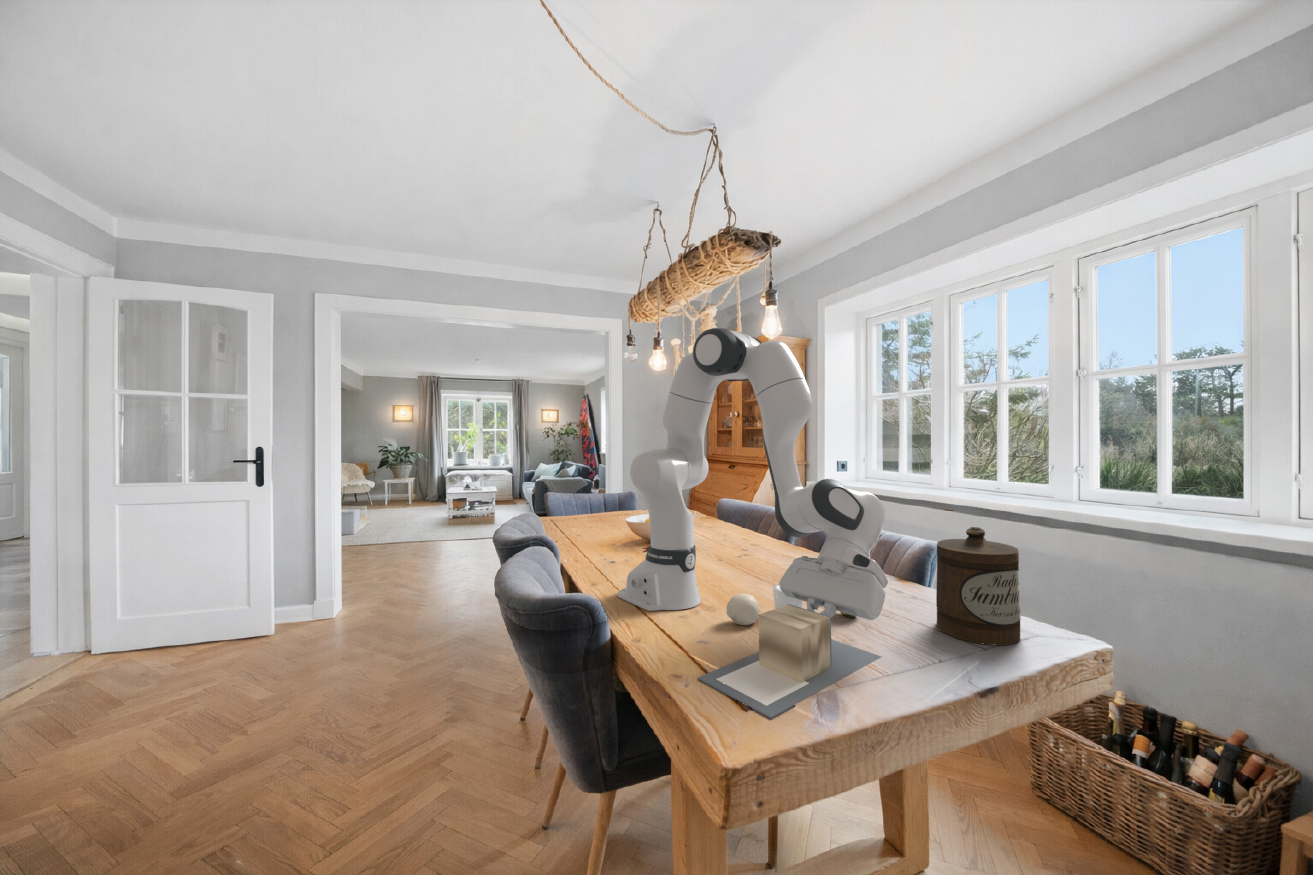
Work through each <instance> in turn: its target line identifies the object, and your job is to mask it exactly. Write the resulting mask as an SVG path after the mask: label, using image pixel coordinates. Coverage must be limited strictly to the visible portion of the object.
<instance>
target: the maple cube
mask: <svg viewBox="0 0 1313 875" xmlns="http://www.w3.org/2000/svg"><path fill="white" fill-rule="evenodd" d="M820 613H821V612H816V611H815V612H813V611H810V610H807V608H803V607H802V608H800V607H797V606H794V605H790V604H788V605H785V606H782V607H779V608H777V609H775V608H774V609H771V610H768V611H766V612H763V613H759V616H758V652H759V664H760V665H762V666H764V667H766V668H769V669H771V670H773V671H775V672H778V673H780V674H782V675H785V676H787V677H789V678H791V679H794V680H796V681H798V682H800V683H802V682H804V681H806V680H808V679H810V678H812V677H813V676H815V675H817V674H819V673H821V672H823V671H825V670H827V669H829V668H831V667H832V662H831V639H832V617H830V616H827V615H823V614H820Z"/></svg>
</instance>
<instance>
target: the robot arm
mask: <svg viewBox="0 0 1313 875" xmlns="http://www.w3.org/2000/svg"><path fill="white" fill-rule="evenodd" d="M726 380H727V381H728V382H731V383H732V382H746V381H749V383H750V384H751V386H752V389H753V393H754V395H755V398H756V401H757V404H758V407H759V411H760V412H759V413H760V416H761V424H762V442H763V448H764V453H765V457H766V461H767V465H768V470H769V475H770V478H771V482H772V485H773V492H774V514H775V515H774V516H775V518H776V520H777V524H778V525H779V526H780V528H781V529H782V530H783V531H784V532H785V533H787V534H788V535H790V536H791V537H794V538H805V537H808V536H809V535H813V534H815V533H817V532H821V531H822V532H824V533H825V535H826V539H825V541H824V543H823V545H822V548H821V550H819V551H820V552H819V553H818V556H817V558H816V557H810V556H807V555H802V556H800V557H797V558H795V559H794V560H793V561H792V563H791V564H789V567H787V569H786V571H785V572H784V574H783V575H782V577H781V578H780V580H779V583H778V584H779V586H780V589H781V590H782V592H783V593H784V594H785V595H786V596H787V597H791V598H794V599H798V600H801V601H803V602H805V603H806V609H807V610H810V611H813V612H816V610H819V607H823V608H824V609H823V610H822V611H821V612H819V613H820V614H823V615H827V616H830V617H831V618H833V617H834V616H835V614H836V612H840V613H841V612H844V613H847V614H851V615H854V616H856V617H859V618H862V619H865V620H868V621H869V620H870V621H874V620H875V619H877V618H879V616H880V615H881V612H882V611H883V610H882V609H883V607H884V602H885V600H886V591H885V588H886V587H887V585H888V583H889V579H888V577H887V576H886V574H885V572H884V570H883V569H882V567H880V565H879V564H878V562H877V561H876V560H875V559H873V558H871V551H872V550H873V549H874V548H875V546H876V545H877V543H878V542H879V538H880V535H881V534H882V531H883V528H884V524H885V520H886V508H885V506H884V503H883V502H882V500H880V498H878V497H877V496H876V495H874V494H873V493H872V492H869V491H866V490H854V489H851V488H848V487H846V485H844V484H843V483H842V482H839V481H838V480H835V479H831V478H825V479H824V478H823V479H822V480H818V481H815V482H812V483H810V484H808V485H806V486H803V484H802V480H801V477H800V473H799V469H798V465H797V462H796V461H797V460H796V457H795V445H796V441H797V438H798V437H799V435H800V433H801V431H802V429H803V428H804V426H805V425H806V423H807V422H808V421H809V419H810V416H811V414H812V411H813V398H812V392H811V391H810V390H811V389H810V387H809V385H808V382H807V380H806V378H805V375H804V373H803V371H802V369H801V366H800V364H799V363H798V360H797V359H796V357H795V356H794V354H793V352H792V350H791V349H790V347H789V346H788V345H787V343H785V342H783V341H781V340H767V341H764V342H761V341H760V339H758V338H756V337H753V336H751V335H749V334H747V333H744V332H741V331H738V330H737V331H734V330H729V329H726V328H724V327H723V328H722V327H712V328H709V329H706V330H704V331H703V332H701V333H700V334H699V335H698V336H697V337H696V340H695V341H694V343H693V348H692V352H689V353H687V354H685V355H684V356H683V357H682V359H681V360H680V362H679V364H678V366H677V369H676V371H675V374H674V376H673V379H672V381H671V382H672V383H671V384H670V389H669V392H668V395H667V399H666V400H667V401H666V404H665V407H664V411H663V416H662V425H663V427H664V428H665V429H666V434H667V442H666V447H665V448H656V449H650V450H647V451H644V452H642V453H639V454H638V455H637V456H636V457H635V458H634V459H633V460H632V461H631V464H630V469H629V476H630V479H631V482H632V484H633V486H634V487H635V489H637V490H638V491H639V492H640V494H641V495H642V497H643V499H644V501H645V504H646V507H647V511H648V516H649V529H650V530H649V531H650V532H649V533H650V536H649V537H650V545H648V546H646V547H643V548H642V549H643V551H642V553H646V555H645V559H644V560H643V561H641V562H640V563H639V564H638V565H636V566H635V567H634V568H633V569H631V570H630V571H629V573H628V574H627V578H626V585H625V586H626V587H624V588H622V589H621V590H619V591H618V592H617V596H616V597H617V598H619V599H621V600H624V601H626V602H628V603H630V604H632V605H634V606H637V607H639V608H641V609H644V610H645V611H649V612H651V611H653V612H654V611H678V610H685V609H690V608H694V607H696V606H699V605H700V604H701V602H702V599H701V595H700V592H699V587H698V581H697V575H696V574H697V573H696V559H697V550H696V545H695V544H694V541H695V539H694V536H695V534H694V531H695V530H694V528H695V527H694V515H693V513H692V512H691V511H690V510H689V508H687V505H686V504H685V500H684V496H683V490H690V489H692V488H695V487H696V486H699V484H701V483H703V482H704V481H705V480H706V478H707V477H708V474H709V466H710V465H709V462H708V459H707V457H706V456H705V434H706V429H707V425H708V420H709V416H710V414H711V409H712V406H713V403H714V399H715V395H716V391H717V389H718V386H719V385H720V384H721V383H722V382H723V381H726Z"/></svg>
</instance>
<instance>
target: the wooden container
mask: <svg viewBox="0 0 1313 875" xmlns="http://www.w3.org/2000/svg"><path fill="white" fill-rule="evenodd" d="M965 531H966V532H965V534H966V535H967V537H966V538H950V539H949V538H947V539H941V540H939V541H937V543H936V596H935V598H936V625H937V628H938V629H939V630H940V632H943V633H945V634H947V635H948V636H950V637H953V638H955V639H958V640H962V641H965V642H969V643H973V642H977V643H976V644H978V643H984V644H983V645H985V644H996V645H995V646H1009V644H1010V645H1013V644H1016V643H1018V642H1020V640H1021V590H1020V589H1021V588H1020V569H1019V568H1020V565H1019V564H1020V561H1019V559H1020V557H1019V556H1020V553H1019V548H1017V547H1015V546H1012V545H1009V544H1006V543H1001V542H998V541H997V542H996V541H989V540H986V539H985V535H986V531H985V530H984V529H983V528H981V527H977V526H976V527H975V526H970V527H969V528H966V530H965Z"/></svg>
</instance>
